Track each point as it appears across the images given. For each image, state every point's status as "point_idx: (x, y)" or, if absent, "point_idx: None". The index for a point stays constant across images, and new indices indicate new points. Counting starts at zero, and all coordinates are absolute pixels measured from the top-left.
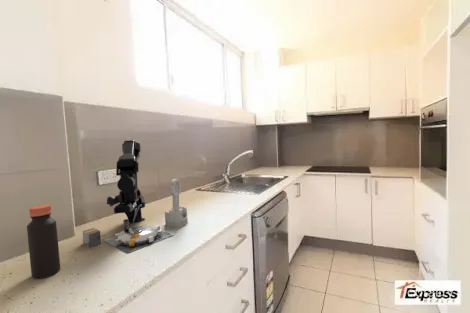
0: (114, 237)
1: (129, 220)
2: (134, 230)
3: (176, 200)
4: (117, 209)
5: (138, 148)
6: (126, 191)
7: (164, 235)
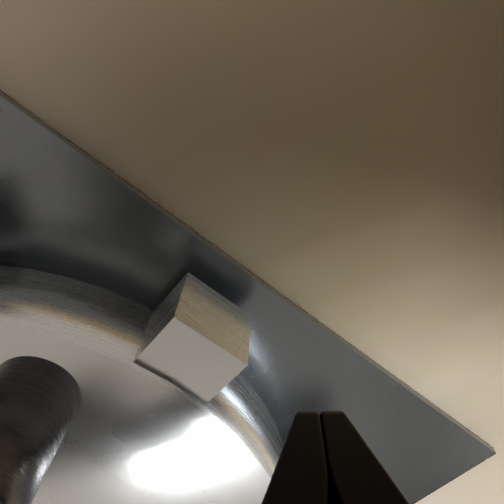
0: (12, 129)
1: (271, 499)
2: (68, 488)
3: None
4: None
5: None
6: None
7: None
